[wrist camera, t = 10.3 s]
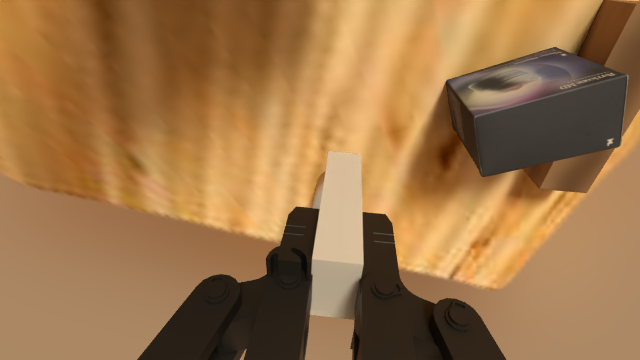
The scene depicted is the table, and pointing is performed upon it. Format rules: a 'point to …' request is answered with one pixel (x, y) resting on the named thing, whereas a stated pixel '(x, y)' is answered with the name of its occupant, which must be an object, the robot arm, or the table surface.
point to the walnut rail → (612, 52)
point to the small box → (537, 110)
